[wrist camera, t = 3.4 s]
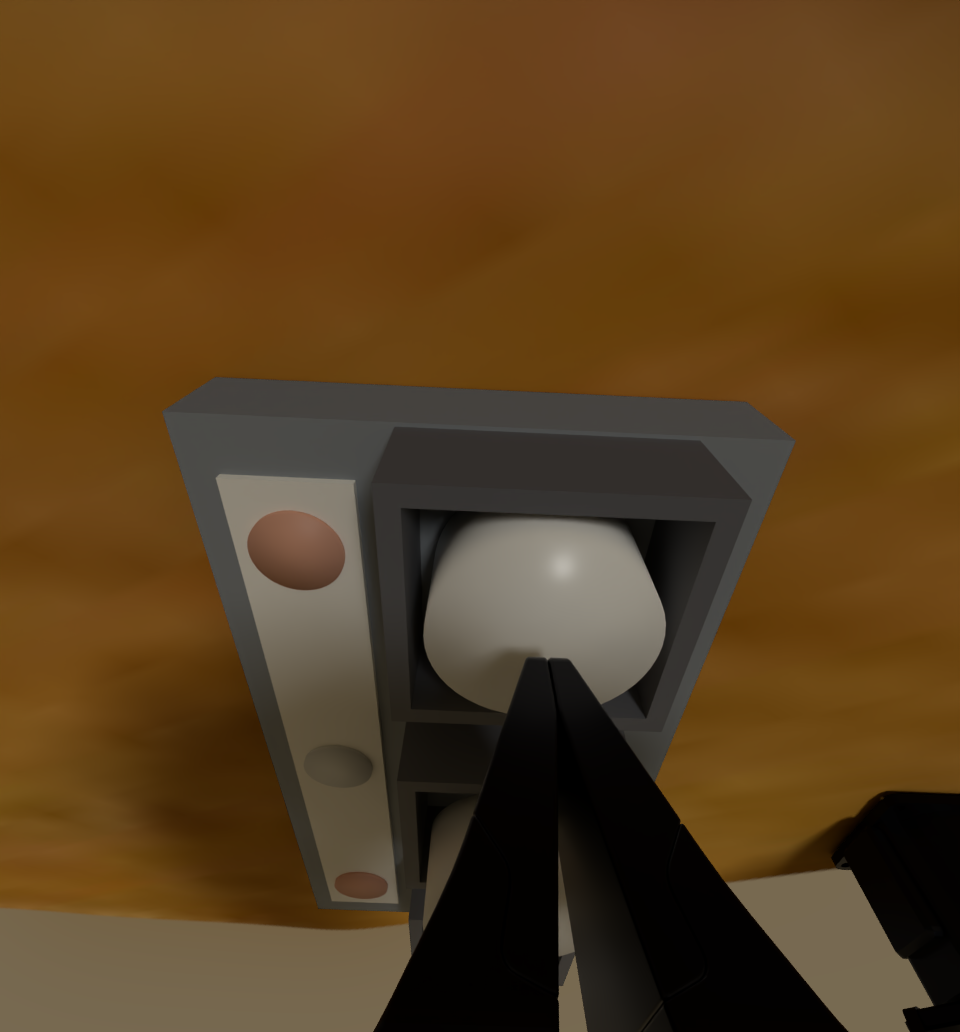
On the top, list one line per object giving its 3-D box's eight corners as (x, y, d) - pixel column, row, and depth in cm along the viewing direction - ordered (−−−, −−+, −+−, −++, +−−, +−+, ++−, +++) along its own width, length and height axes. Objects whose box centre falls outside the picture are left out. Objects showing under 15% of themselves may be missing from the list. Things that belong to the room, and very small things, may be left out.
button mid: (599, 794, 15) (617, 893, 13) (574, 871, 17) (586, 964, 15) (430, 787, 15) (420, 885, 13) (432, 866, 17) (423, 958, 15)
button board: (746, 401, 13) (871, 500, 9) (589, 862, 27) (608, 988, 23) (215, 377, 13) (79, 464, 9) (331, 853, 27) (302, 977, 23)
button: (656, 483, 11) (695, 550, 9) (614, 641, 14) (636, 720, 12) (433, 473, 11) (421, 538, 9) (434, 633, 14) (425, 712, 12)
